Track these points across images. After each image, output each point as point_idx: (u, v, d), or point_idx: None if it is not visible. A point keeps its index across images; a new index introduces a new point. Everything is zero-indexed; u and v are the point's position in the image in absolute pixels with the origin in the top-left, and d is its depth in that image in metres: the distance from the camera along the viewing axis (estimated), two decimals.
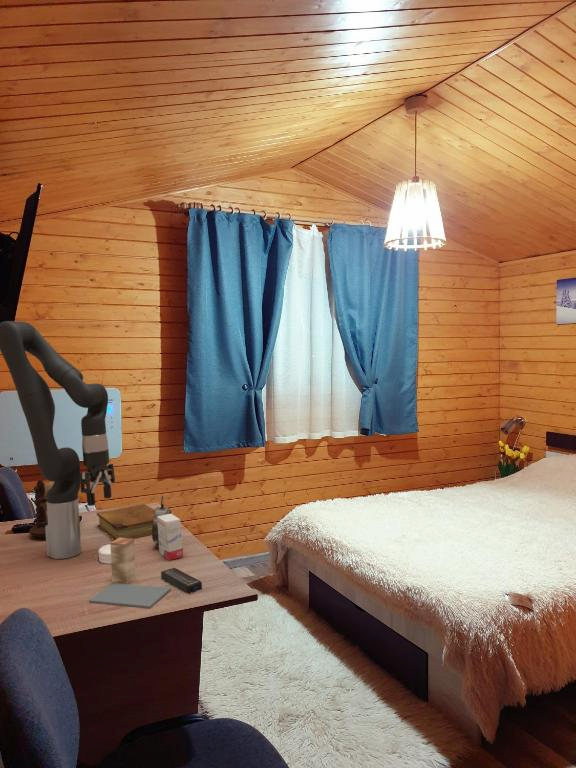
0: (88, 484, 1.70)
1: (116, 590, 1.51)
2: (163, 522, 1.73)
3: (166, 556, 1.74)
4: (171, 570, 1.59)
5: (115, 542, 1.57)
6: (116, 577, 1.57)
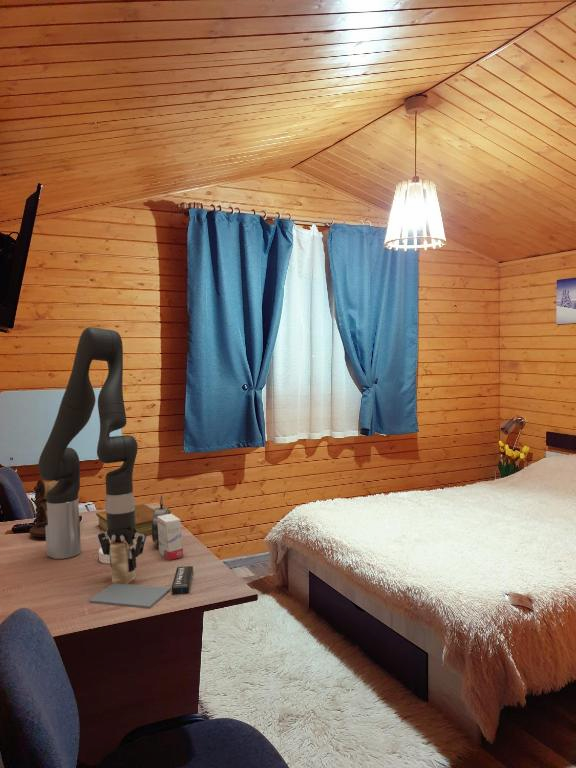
0: None
1: (116, 590, 1.51)
2: (163, 522, 1.73)
3: (166, 556, 1.74)
4: (186, 568, 1.61)
5: (115, 542, 1.57)
6: (116, 577, 1.57)
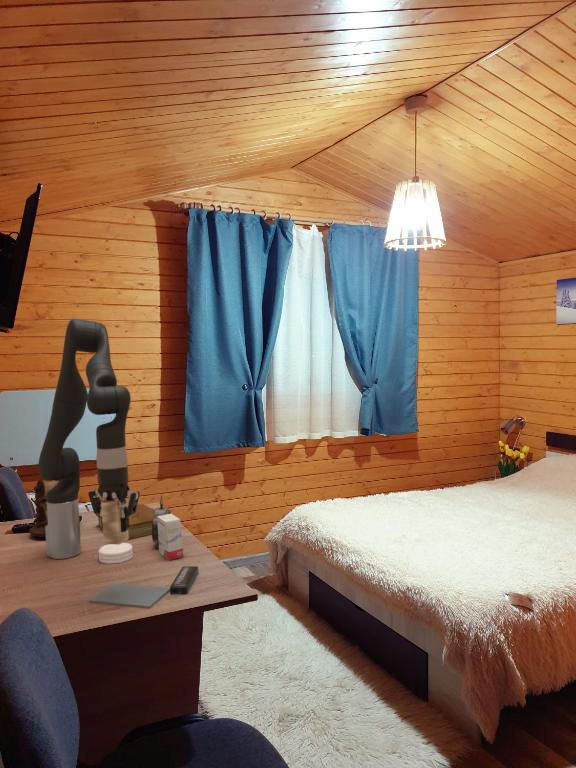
0: None
1: (116, 590, 1.51)
2: (163, 522, 1.73)
3: (166, 556, 1.74)
4: (190, 568, 1.61)
5: (106, 500, 1.46)
6: (108, 537, 1.46)
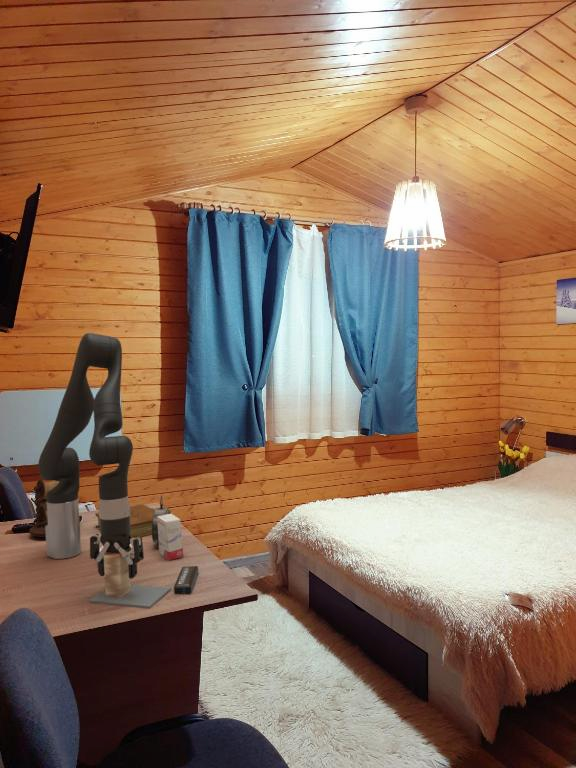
0: None
1: None
2: (163, 522, 1.73)
3: (166, 556, 1.74)
4: (191, 568, 1.61)
5: (109, 552, 1.47)
6: (110, 589, 1.47)
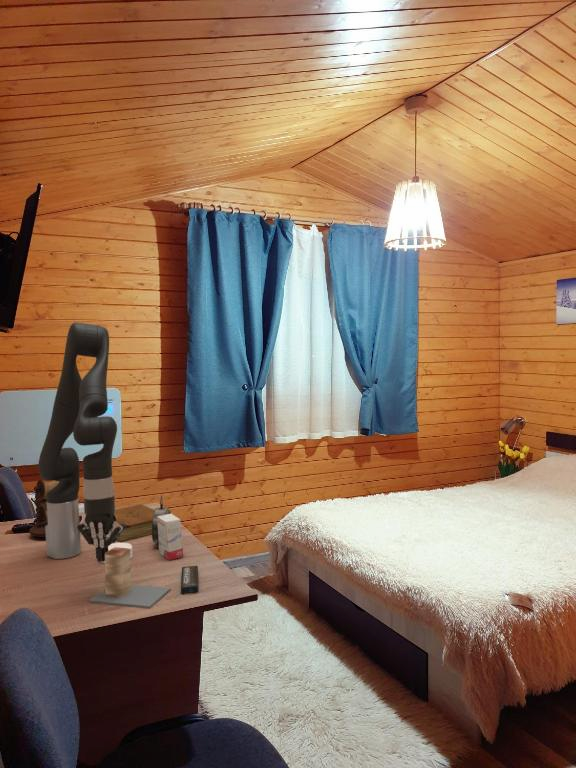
0: None
1: None
2: (163, 522, 1.73)
3: (166, 556, 1.74)
4: (191, 567, 1.61)
5: (110, 552, 1.47)
6: (110, 589, 1.47)
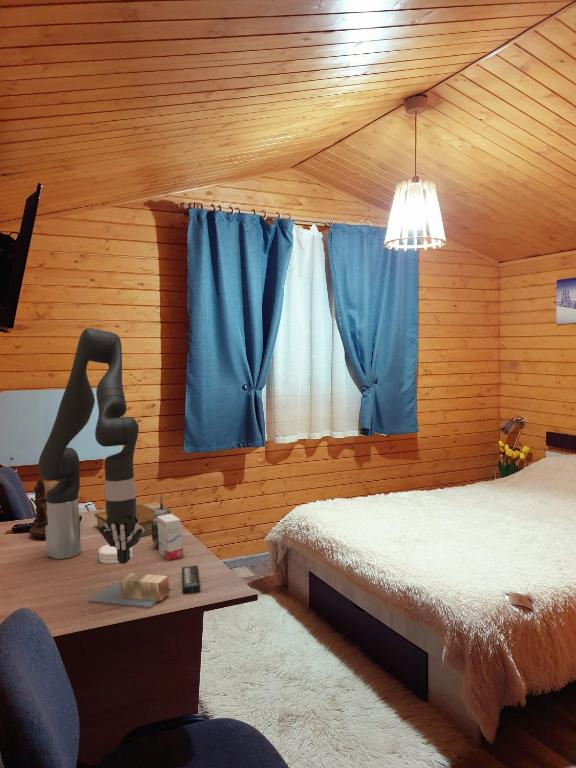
0: None
1: (116, 590, 1.51)
2: (163, 522, 1.73)
3: (166, 556, 1.74)
4: (191, 567, 1.61)
5: (161, 586, 1.44)
6: (126, 586, 1.46)
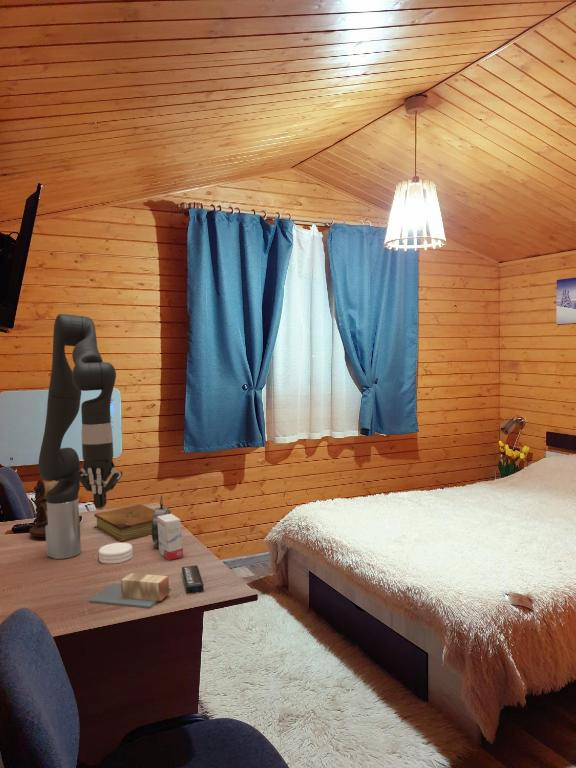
0: None
1: (116, 590, 1.51)
2: (163, 522, 1.73)
3: (166, 556, 1.74)
4: (191, 567, 1.61)
5: (161, 586, 1.44)
6: (126, 586, 1.46)
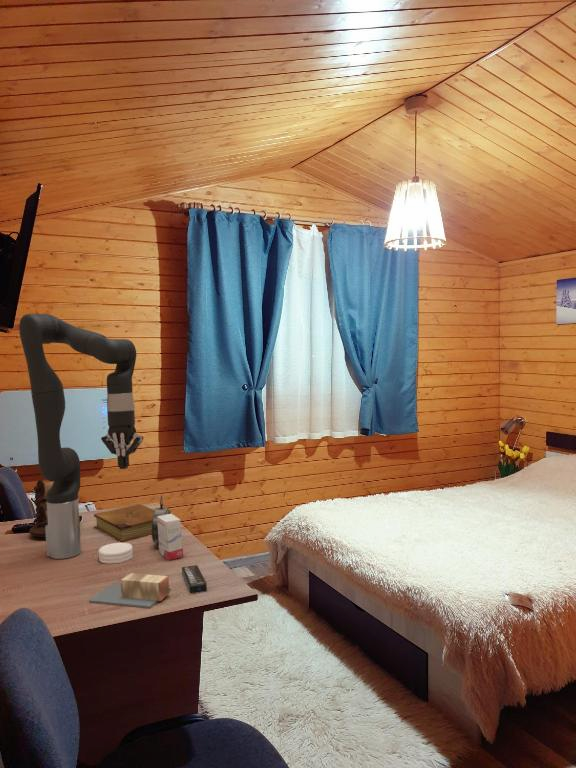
0: None
1: (116, 590, 1.51)
2: (163, 522, 1.73)
3: (166, 556, 1.74)
4: (191, 567, 1.61)
5: (161, 586, 1.44)
6: (126, 586, 1.46)
